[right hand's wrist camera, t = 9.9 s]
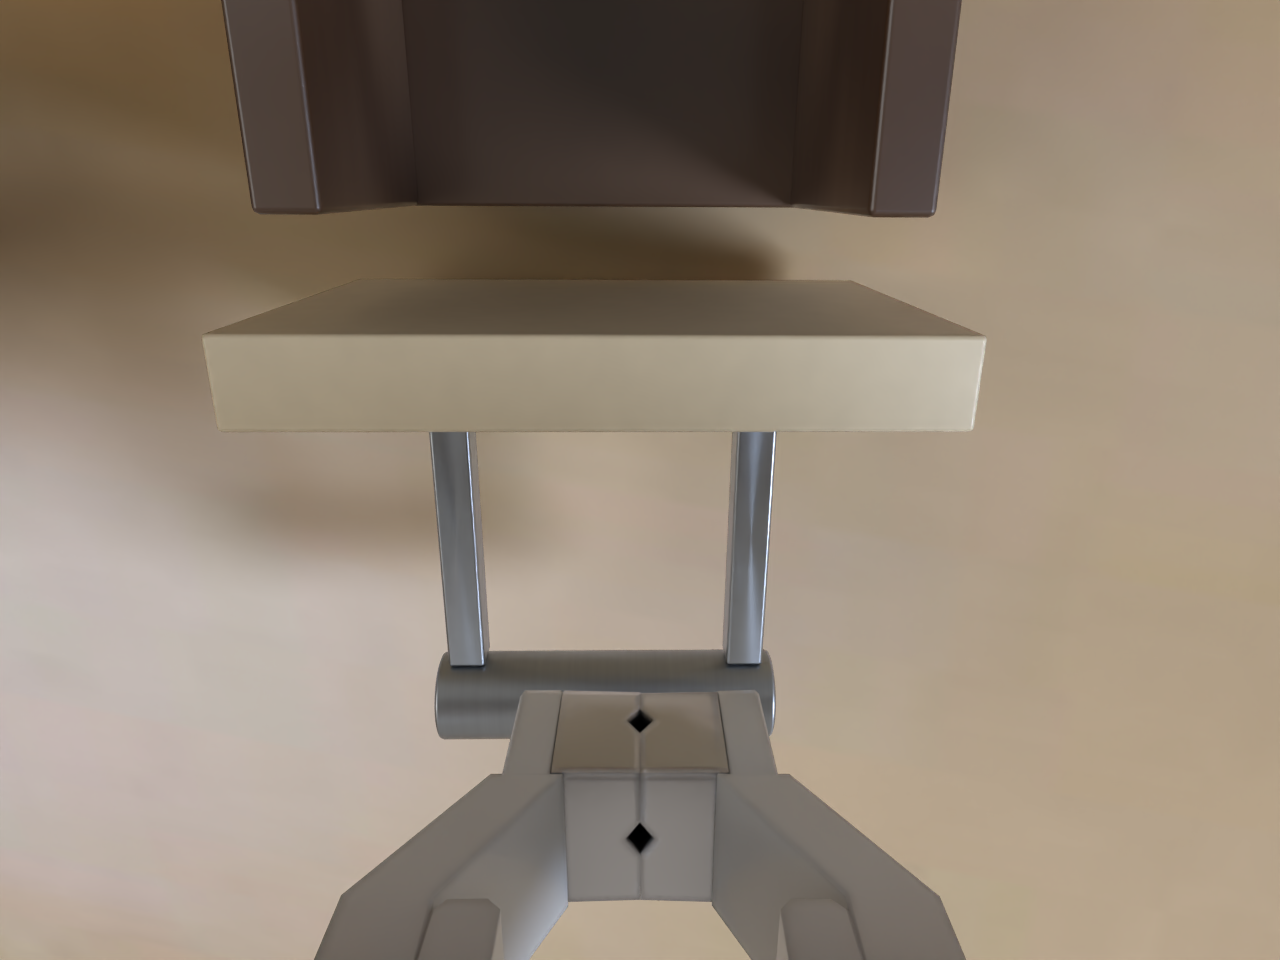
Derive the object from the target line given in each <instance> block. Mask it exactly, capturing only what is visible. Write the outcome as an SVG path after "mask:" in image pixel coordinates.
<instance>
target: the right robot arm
mask: <svg viewBox="0 0 1280 960" xmlns="http://www.w3.org/2000/svg"><path fill="white" fill-rule="evenodd" d="M612 900H666V901H701V902H712V906H713V907H714V909H715V910H716V912H717V913H718V914H719V916H720V917H721V918H722V920H723V921H724V922H725V924H726V925H727V927H728V928H729V929H730V931H731V932H732V933H733V935H734V936H735V938H736V939H737V940H738V942H739V943H740V944H741V946H742V947H743V949H744V950H745V951H746V953H747V954H748V955H749V957H750V958H751V960H966V958H965V956H964V954H963V951H962V949H961V946H960V944H959V942H958V939H957V937H956V934H955V932H954V930H953V927H952V925H951V922H950V920H949V918H948V915H947V913H946V911H945V908H944V906H943V903H942V901H941V899H940V896H938V895H937V894H936V893H935V892H933V891H932V890H931V889H930V888H929V887H927V886H926V885H925V884H924V883H922V882H921V881H920V880H919V879H918V878H916V877H915V876H914V875H913V874H911V873H910V872H909V871H908V870H906V869H905V868H904V867H903V866H902V865H900V864H899V863H898V862H897V861H895V860H894V859H893V858H892V857H891V856H889V855H888V854H887V853H886V852H884V851H883V850H882V849H881V848H879V847H878V846H877V845H876V844H875V843H873V842H872V841H871V840H870V839H868V838H867V837H866V836H865V835H864V834H862V833H861V832H860V831H859V830H857V829H856V828H855V827H854V826H852V825H851V824H850V823H849V822H848V821H846V820H845V819H844V818H843V817H841V816H840V815H839V814H838V813H837V812H835V811H834V810H833V809H832V808H830V807H829V806H828V805H827V804H825V803H824V802H823V801H822V800H821V799H819V798H818V797H817V796H816V795H814V794H813V793H812V792H811V791H810V790H808V789H807V788H806V787H805V786H803V785H802V784H801V783H800V782H798V781H797V780H796V779H795V778H794V777H792V776H791V775H790V774H778V773H777V769H776V764H775V760H774V756H773V752H772V747H771V743H770V739H769V735H768V731H767V726H766V722H765V718H764V714H763V709H762V705H761V701H760V697H759V694H758V693H757V692H756V691H755V690H735V691H717V692H680V693H640V692H611V691H564V692H562V691H561V690H525V691H524V692H523V694H522V695H521V696H520V700H519V704H518V709H517V713H516V717H515V722H514V726H513V730H512V734H511V739H510V743H509V747H508V751H507V756H506V760H505V764H504V769H503V773H502V774H490V775H489V776H488V777H486V778H485V779H484V780H483V781H482V782H480V783H479V784H478V785H477V786H475V787H474V788H473V789H472V790H470V791H469V792H468V793H467V794H466V795H464V796H463V797H462V798H461V799H459V800H458V801H457V802H456V803H454V804H453V805H452V806H451V807H449V808H448V809H447V810H446V811H445V812H443V813H442V814H441V815H440V816H438V817H437V818H436V819H435V820H433V821H432V822H431V823H430V824H429V825H427V826H426V827H425V828H424V829H422V830H421V831H420V832H419V833H417V834H416V835H415V836H414V837H413V838H411V839H410V840H409V841H408V842H406V843H405V844H404V845H403V846H401V847H400V848H399V849H398V850H396V851H395V852H394V853H393V854H392V855H390V856H389V857H388V858H387V859H385V860H384V861H383V862H382V863H380V864H379V865H378V866H377V867H376V868H374V869H373V870H372V871H371V872H369V873H368V874H367V875H366V876H364V877H363V878H362V879H361V880H359V881H358V882H357V883H356V884H355V885H353V886H352V887H351V888H350V889H348V890H347V891H346V892H345V893H343V894H342V895H341V897H340V900H339V902H338V904H337V907H336V909H335V911H334V914H333V916H332V918H331V921H330V923H329V926H328V928H327V930H326V933H325V935H324V937H323V940H322V942H321V944H320V947H319V949H318V951H317V954H316V956H315V959H314V960H529V959H530V958H531V956H532V955H533V953H534V952H535V951H536V949H537V948H538V947H539V945H540V944H541V942H542V941H543V940H544V938H545V937H546V936H547V934H548V933H549V932H550V930H551V929H552V927H553V926H554V925H555V923H556V922H557V921H558V919H559V918H560V917H561V915H562V914H563V912H564V911H565V910H566V908H567V907H568V902H578V901H612Z"/></svg>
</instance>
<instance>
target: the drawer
mask: <svg viewBox="0 0 1280 960" xmlns="http://www.w3.org/2000/svg"><path fill="white" fill-rule="evenodd" d="M221 1H222V8H223V15H224V22H225V28H226V35H227V42H228V49H229V55H230V62H231V69H232V76H233V82H234V89H235V96H236V103H237V109H238V116H239V123H240V130H241V136H242V143H243V150H244V157H245V163H246V170H247V177H248V184H249V190H250V197H251V204H252V208H253V210H254V212H256V213H259V214H328V213H339V212H350V211H361V210H372V209H383V208H394V207H405V206H611V207H795V208H803V209H811V210H819V211H827V212H835V213H844V214H852V215H860V216H868V217H930V216H933V215H934V214H935V211H936V207H937V199H938V191H939V183H940V174H941V166H942V158H943V150H944V142H945V133H946V125H947V117H948V109H949V101H950V92H951V84H952V76H953V68H954V60H955V51H956V43H957V35H958V27H959V19H960V10H961V2H962V0H221ZM202 344H203V350H204V355H205V361H206V367H207V372H208V378H209V383H210V389H211V395H212V400H213V406H214V412H215V417H216V423H217V428H218V430H219V431H221V432H429V436H430V447H431V459H432V471H433V482H434V494H435V506H436V517H437V529H438V540H439V552H440V564H441V575H442V587H443V599H444V610H445V622H446V634H447V645H448V652H446V653H445V654H444V655H443V657H442V659H441V661H440V664H439V668H438V672H437V678H436V686H435V722H436V727H437V731H438V734H439V736H440V737H441V738H442V739H511V734H512V730H513V726H514V722H515V717H516V713H517V709H518V704H519V700H520V696H521V695H522V694H523V692H524V691H525V690H561V691H562V692H564V691H611V692H640V693H680V692H717V691H735V690H755V691H756V692H757V693H758V694H759V697H760V701H761V705H762V709H763V714H764V718H765V722H766V726H767V731H768V735H769V736H770V735H771V734H772V731H773V728H774V723H775V712H776V694H775V680H774V672H773V666H772V662H771V658H770V656H769V653H768V652H767V651H766V650H763V635H764V619H765V604H766V588H767V573H768V557H769V542H770V526H771V511H772V495H773V480H774V464H775V449H776V433H777V432H969V431H972V430H973V428H974V421H975V414H976V408H977V401H978V394H979V388H980V381H981V374H982V367H983V361H984V354H985V347H986V336H984V335H982V334H979V333H977V332H974V331H972V330H970V329H967V328H965V327H962V326H960V325H957V324H955V323H953V322H950V321H948V320H945V319H943V318H940V317H938V316H936V315H933V314H931V313H928V312H926V311H924V310H921V309H919V308H916V307H914V306H911V305H909V304H907V303H904V302H902V301H899V300H897V299H894V298H892V297H890V296H887V295H885V294H882V293H880V292H877V291H875V290H873V289H870V288H868V287H865V286H863V285H860V284H858V283H856V282H853V281H807V280H499V279H359V280H356V281H353V282H351V283H348V284H345V285H342V286H339V287H336V288H333V289H331V290H328V291H325V292H322V293H319V294H316V295H314V296H311V297H308V298H305V299H302V300H299V301H296V302H294V303H291V304H288V305H285V306H282V307H279V308H276V309H274V310H271V311H268V312H265V313H262V314H259V315H257V316H254V317H251V318H248V319H245V320H242V321H239V322H237V323H234V324H231V325H228V326H225V327H222V328H220V329H217V330H214V331H211V332H208V333H206V334H203V336H202ZM476 432H732V450H731V472H730V494H729V516H728V538H727V560H726V582H725V604H724V626H723V650H586V651H489V648H490V642H489V627H488V612H487V596H486V581H485V566H484V551H483V535H482V520H481V505H480V490H479V475H478V459H477V444H476Z"/></svg>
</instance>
